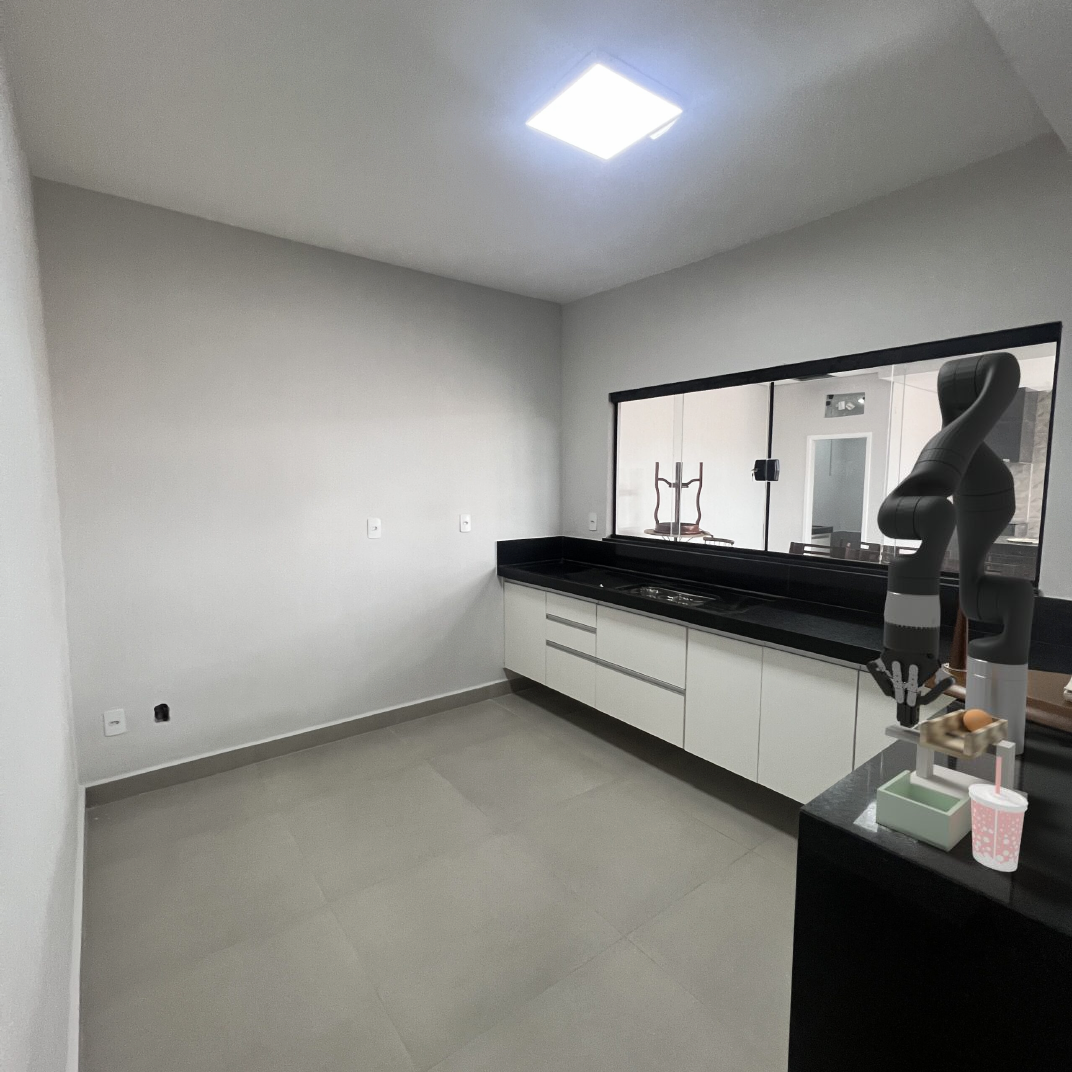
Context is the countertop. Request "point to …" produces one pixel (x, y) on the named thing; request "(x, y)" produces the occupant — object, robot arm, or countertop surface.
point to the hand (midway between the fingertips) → (907, 725)
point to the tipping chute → (953, 736)
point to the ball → (976, 719)
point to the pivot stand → (958, 781)
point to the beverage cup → (996, 824)
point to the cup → (923, 812)
